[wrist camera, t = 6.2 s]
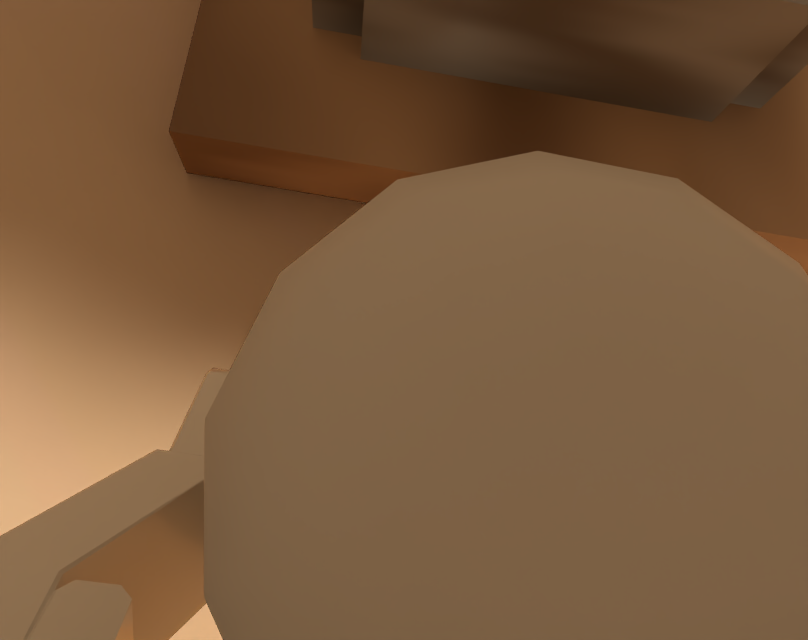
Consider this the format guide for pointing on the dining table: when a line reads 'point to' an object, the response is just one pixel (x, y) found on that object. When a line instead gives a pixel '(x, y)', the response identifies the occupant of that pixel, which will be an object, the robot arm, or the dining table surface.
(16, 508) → the dining table surface
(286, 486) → the beige round peg
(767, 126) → the walnut socket board
